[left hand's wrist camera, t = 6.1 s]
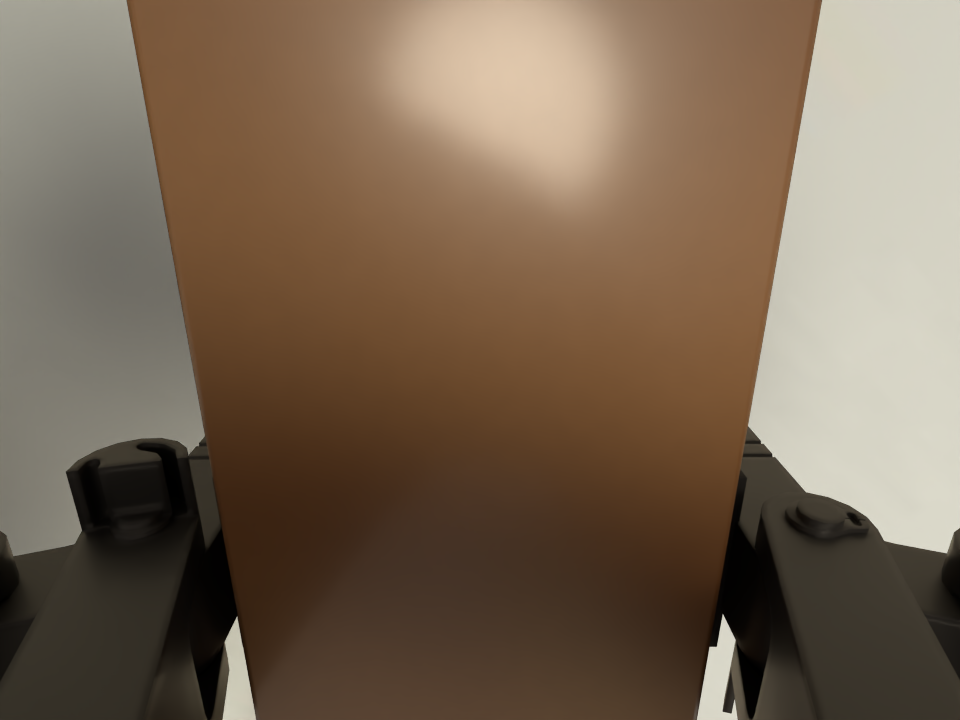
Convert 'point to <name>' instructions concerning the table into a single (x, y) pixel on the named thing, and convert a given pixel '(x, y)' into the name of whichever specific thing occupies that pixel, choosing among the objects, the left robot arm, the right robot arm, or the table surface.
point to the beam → (475, 333)
